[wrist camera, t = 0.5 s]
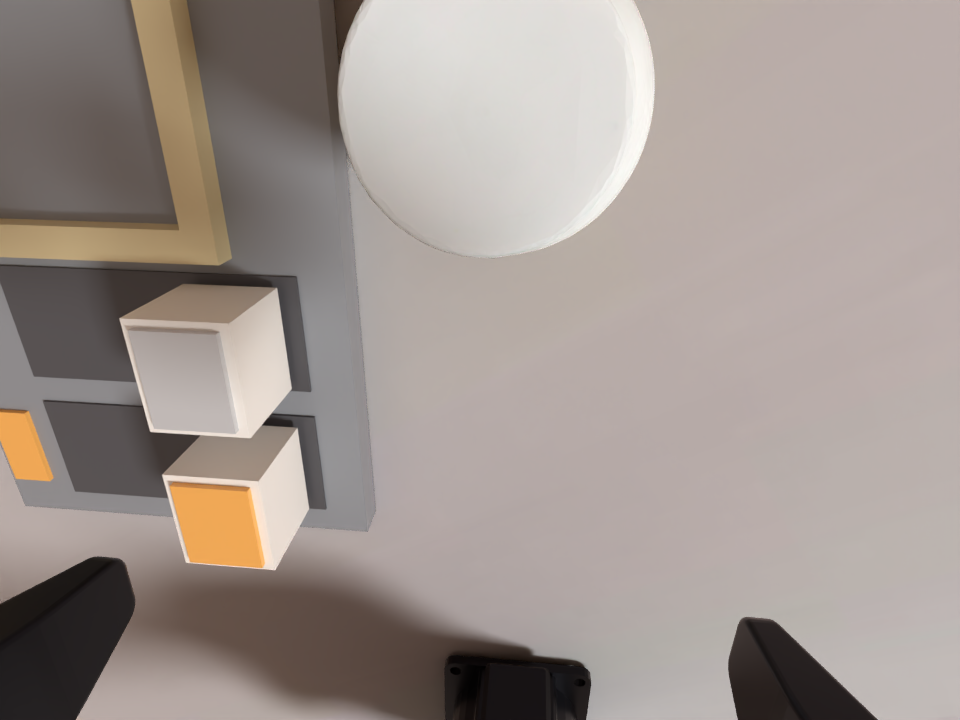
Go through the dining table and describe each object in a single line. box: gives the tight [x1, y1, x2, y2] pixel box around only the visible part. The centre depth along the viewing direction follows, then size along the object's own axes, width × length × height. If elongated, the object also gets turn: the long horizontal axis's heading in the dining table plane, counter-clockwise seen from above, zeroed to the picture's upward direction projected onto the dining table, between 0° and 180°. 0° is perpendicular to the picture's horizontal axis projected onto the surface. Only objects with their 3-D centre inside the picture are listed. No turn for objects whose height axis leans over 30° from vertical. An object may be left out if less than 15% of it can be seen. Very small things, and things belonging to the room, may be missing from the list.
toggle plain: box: [119, 284, 292, 438], centre depth 17 cm, size 4×3×3 cm
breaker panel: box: [0, 0, 376, 532], centre depth 18 cm, size 20×14×2 cm
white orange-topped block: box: [162, 425, 309, 570], centre depth 19 cm, size 4×3×3 cm
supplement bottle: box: [337, 0, 655, 258], centre depth 12 cm, size 5×5×10 cm
